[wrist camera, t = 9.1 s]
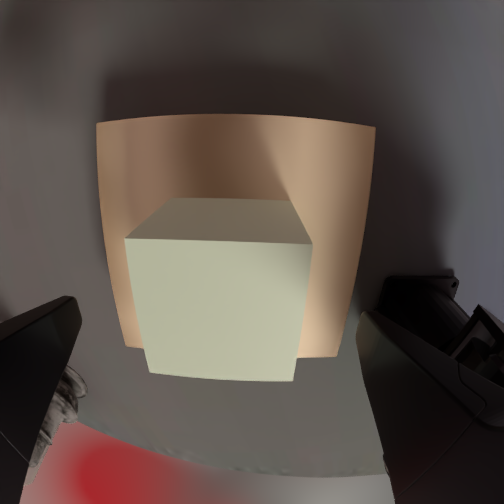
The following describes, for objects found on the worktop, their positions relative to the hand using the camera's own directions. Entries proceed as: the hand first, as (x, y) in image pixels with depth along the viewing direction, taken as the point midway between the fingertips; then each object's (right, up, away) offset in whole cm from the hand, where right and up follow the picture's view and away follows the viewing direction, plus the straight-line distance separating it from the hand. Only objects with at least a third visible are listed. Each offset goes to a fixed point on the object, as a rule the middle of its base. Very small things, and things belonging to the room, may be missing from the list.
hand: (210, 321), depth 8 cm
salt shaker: (-17, -11, +15) cm, 25 cm away
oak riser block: (0, +3, +8) cm, 9 cm away
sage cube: (0, +2, +5) cm, 5 cm away
